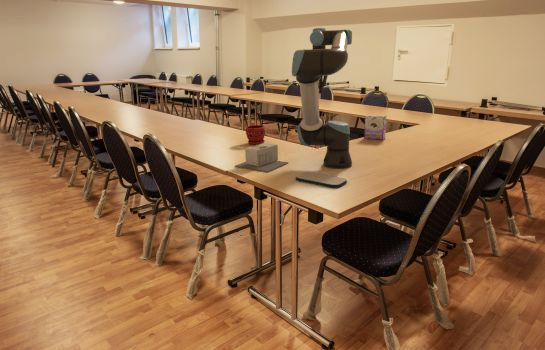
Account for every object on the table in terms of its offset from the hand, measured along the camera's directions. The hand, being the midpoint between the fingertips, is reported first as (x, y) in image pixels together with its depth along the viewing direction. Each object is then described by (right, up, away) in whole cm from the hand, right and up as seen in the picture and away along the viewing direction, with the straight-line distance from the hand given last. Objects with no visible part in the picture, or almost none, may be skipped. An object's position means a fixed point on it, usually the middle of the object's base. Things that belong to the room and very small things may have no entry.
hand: (318, 99), depth 224 cm
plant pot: (-39, -23, +39) cm, 60 cm away
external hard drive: (-4, -48, -44) cm, 66 cm away
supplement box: (-27, -31, -6) cm, 42 cm away
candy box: (+45, -19, +45) cm, 67 cm away
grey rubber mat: (-33, -39, -15) cm, 53 cm away
